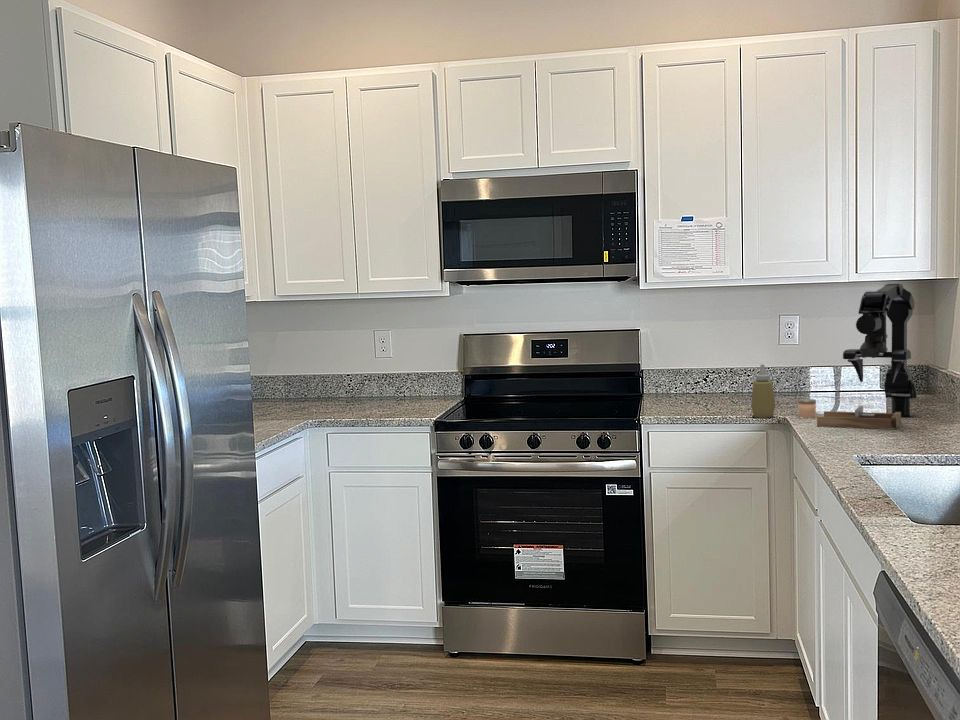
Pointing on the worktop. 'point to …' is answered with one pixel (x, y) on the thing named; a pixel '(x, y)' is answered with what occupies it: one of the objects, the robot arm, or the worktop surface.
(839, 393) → the worktop surface
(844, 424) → the tray
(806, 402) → the jar
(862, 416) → the pusher
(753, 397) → the squeeze bottle
